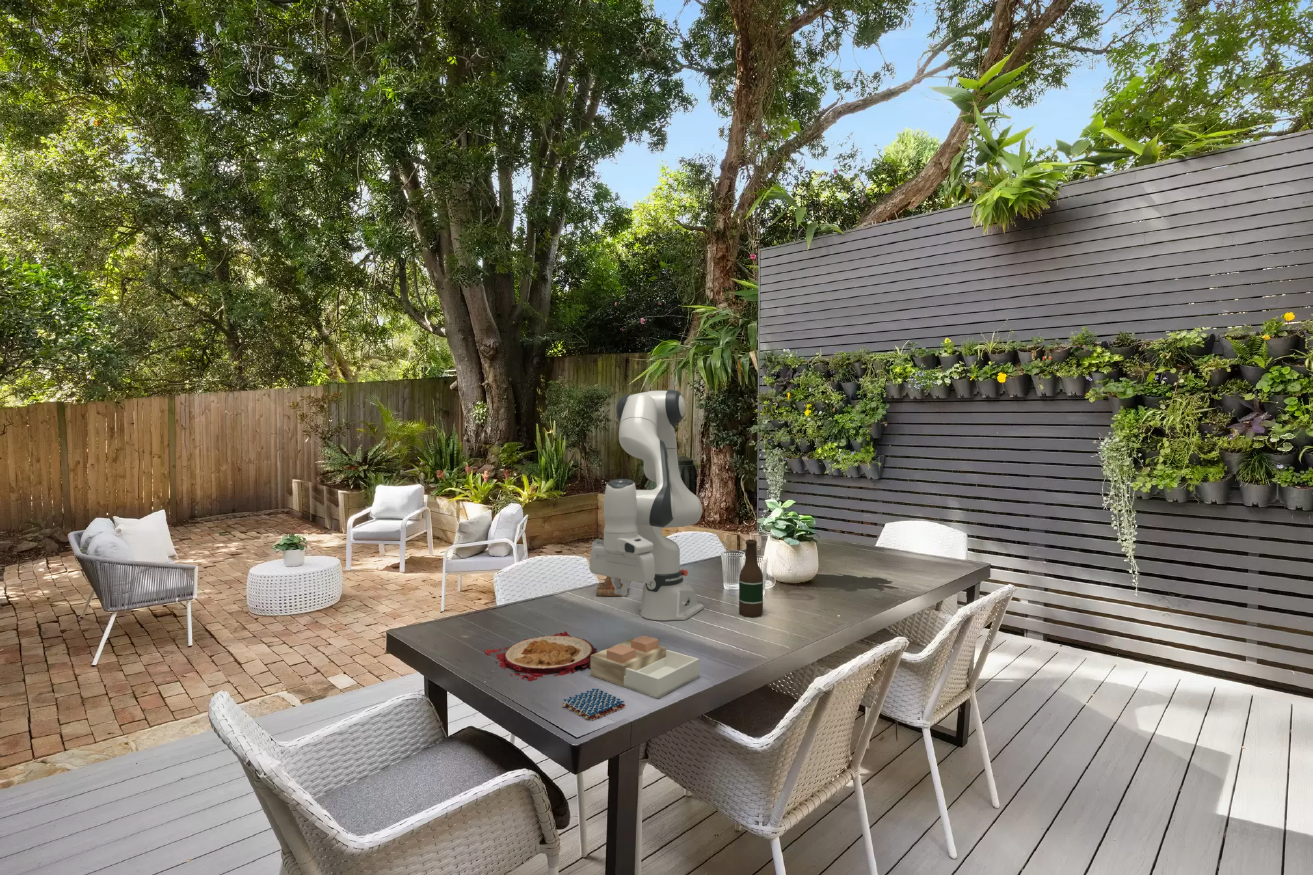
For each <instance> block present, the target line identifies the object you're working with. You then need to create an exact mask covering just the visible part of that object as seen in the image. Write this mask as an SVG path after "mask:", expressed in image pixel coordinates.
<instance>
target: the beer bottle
mask: <svg viewBox="0 0 1313 875" xmlns="http://www.w3.org/2000/svg"><path fill="white" fill-rule="evenodd" d="M744 543H745V545H746V546H745V561H744V566H743V567H742V568H741V570H740V573H739V576H738V578H739V579H738V580H739V581H738V588H739V589H738V613H739V615H740V616H742V617H745V618H753V619H754V618H759V617H761V616H762V615H763V612H764V574H763V572H762V569H761V568H760V566H759V562H758V553H757V544H758V541H757V540H756V539H753V538H751V539H747V540H746V541H745V542H744Z"/></svg>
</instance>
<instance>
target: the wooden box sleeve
mask: <svg viewBox="0 0 1313 875" xmlns="http://www.w3.org/2000/svg"><path fill="white" fill-rule="evenodd" d="M633 639H635V638H634V637H633V638H631V639H628V640H625V641H622V642H620V643H618V644H615V645H613V646H610V647H608V648H606V649H603V650H600V651H597V653H595V654H592V655H591V661H590V663H591V668H590V676H592V677H594V678H597V679H601V680H602V681H607V682H609V683H612V684H614V685H617V686H620V687H622V688H623V687H624V676H626V668H629V669H632V670H636V671H637V670H639V669H641V668H643V667H645V666H647V665H650V664H652V663H654V662H656V661H658V660H660V659H663V658H665V657H666V650H667V648H666V646H662V645H659V647H658V648H656V649H653V650H651V651H649V652H642V651H639V650H636V657H635V658H633V659H630V660H628V661H626V662H624V663H620V662H617V661H613V660H610V659H607V650H608V649H611V648H613V647H616V646H618V645H623V646H627V647H630V648H631V640H633ZM624 688H625V687H624Z"/></svg>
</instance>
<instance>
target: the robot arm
mask: <svg viewBox="0 0 1313 875" xmlns="http://www.w3.org/2000/svg"><path fill="white" fill-rule="evenodd" d="M615 411H616V417H617V420H618V422H619V427H618V428H619V429H618V442H619V444H620V447H621V448H622V449H623V450H624V452H626V453H627V454H628V455H629V456H632V457H634V458H636V459H640V460H642V461H643V474H644V476H645V477H646V478H647V479H648V480H649V481H652V482H654V483H655V484H656V487H655V488H654V489H637V487H636V483H635V481H633V480H631V479H628V478H618V479H617V478H616V479H611V480H610V481H608V482H607V483H606V485H605V491H604V499H603V517H604V522H605V523H604V527H603V539H600V538H596V539H595V540H593V541H592V543H591V550H590V556H589V567H588V568H589V571H590V573H591V574H592V575H593V574H594V575H599V576H605V577H607V576H609V577H611V582H612V584H613V586H614V588H615V594H616V595H621V596H620V597H627V596H626V595H628V589H629V587H630V585H631V583H632V582H634V583H641V584H643V586H642V592H641V593H642V594H641V605H639V607H638V608H639V609H638V610H639V611H640V617H643V618H645V619H648V620H652V621H685V620H688V619H690V618H691V617H693V616H694V615H696V614H697V613H699V612H701V611H702V610H704V608H705V606H704V604H702V603H700V602H697V593H696V590H695V588H692V587H691V586H690V585H689V584H688V583H686V581H685V580H684V577H687V576H688V575H689V570H688V569H684V568H683V569H681V567H680V566H681V564H680V563H681V558H680V557H681V556H680V554H681V553H680V552H681V550H680V547H679V545H678V543H677V542H675V541H674V540H672V539H671V538H669V537H667V536H664V535H663V532H662V530H663V529H664V528H685V527H689V526H693V525H696V524H697V523H698V522H699V521H700V519H701V517H702V513H703V506H702V503H701V500H700V498H699V497H698V496H697V495H696V494H694V492H692V491H691V490H690V489H688V487H687V486H686V484H685V483H684V481H683V480H682V477H681V473H680V470H679V469H680V468H679V462H678V461H679V458H678V445H677V442H678V441H677V438H676V436H677V435H676V431H675V430H676V428H677V427H678V424H679V423H681V421H682V420H683V419H684V417H685V415H686V402H685V399H684V397H683V394H682V393H681V392H680V391H679V390H677V389H676V390H675V389H668V390H648V391H645V392H639V393H635V394H626V395H623V396H621V397H620V398H619V400H617V403H616V408H615ZM683 576H684V577H683ZM620 579H621V583H623V586H622V587H621V585H620V582H619V580H620ZM616 595H615V596H616Z"/></svg>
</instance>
